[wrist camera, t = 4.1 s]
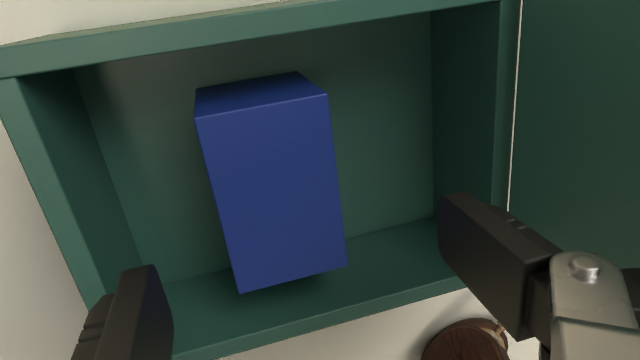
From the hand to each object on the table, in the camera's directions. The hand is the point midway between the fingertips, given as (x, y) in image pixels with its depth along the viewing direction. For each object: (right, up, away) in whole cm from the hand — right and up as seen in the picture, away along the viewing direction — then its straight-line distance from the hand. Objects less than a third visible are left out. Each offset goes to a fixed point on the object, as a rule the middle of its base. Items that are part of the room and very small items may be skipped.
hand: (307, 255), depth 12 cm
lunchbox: (-2, +4, +9) cm, 9 cm away
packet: (-2, +3, +8) cm, 9 cm away
